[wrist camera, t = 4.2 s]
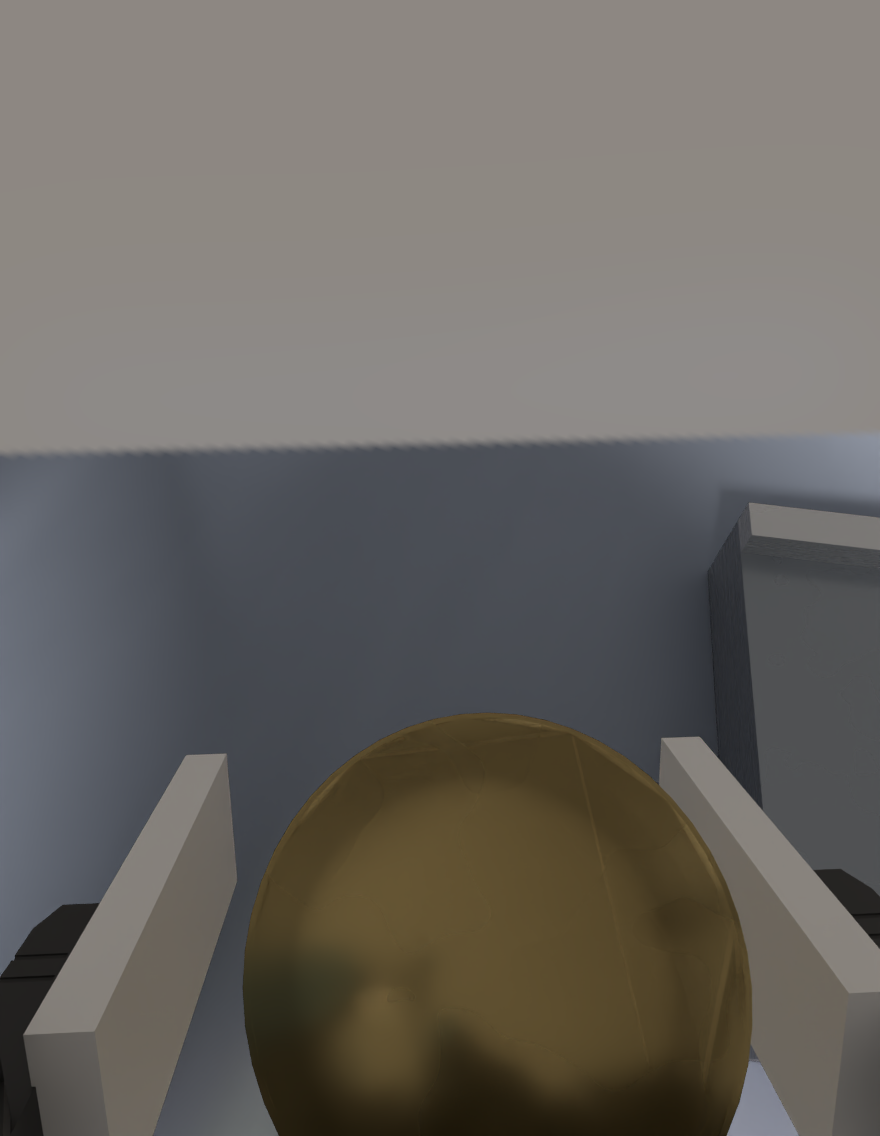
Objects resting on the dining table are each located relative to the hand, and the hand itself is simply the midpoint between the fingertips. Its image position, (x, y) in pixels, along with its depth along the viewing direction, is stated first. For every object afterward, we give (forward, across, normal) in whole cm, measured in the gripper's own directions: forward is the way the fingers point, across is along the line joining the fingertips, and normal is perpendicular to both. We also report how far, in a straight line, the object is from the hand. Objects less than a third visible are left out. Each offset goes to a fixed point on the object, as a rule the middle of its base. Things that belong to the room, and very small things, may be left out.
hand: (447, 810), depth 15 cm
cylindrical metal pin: (0, 0, -5) cm, 5 cm away
